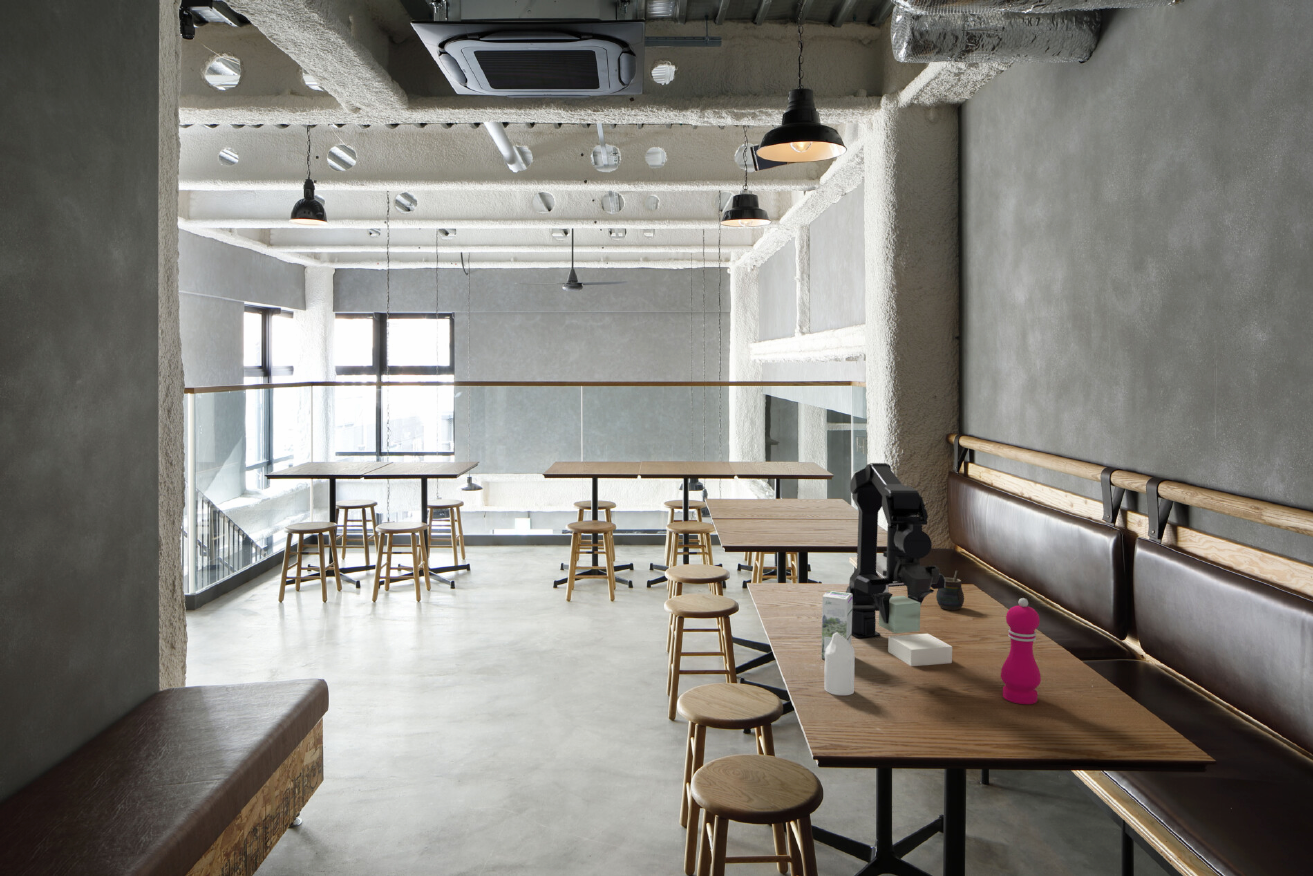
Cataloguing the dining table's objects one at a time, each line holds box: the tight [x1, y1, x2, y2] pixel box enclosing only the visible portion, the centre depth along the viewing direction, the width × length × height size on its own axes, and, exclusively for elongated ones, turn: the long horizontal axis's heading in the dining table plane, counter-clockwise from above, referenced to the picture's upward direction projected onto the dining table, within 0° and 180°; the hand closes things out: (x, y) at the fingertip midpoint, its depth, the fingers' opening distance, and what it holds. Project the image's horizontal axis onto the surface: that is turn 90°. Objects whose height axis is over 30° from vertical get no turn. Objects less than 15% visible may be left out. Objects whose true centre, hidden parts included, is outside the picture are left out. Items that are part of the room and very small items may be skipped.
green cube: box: [878, 595, 922, 634], centre depth 176 cm, size 6×6×6 cm
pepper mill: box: [1000, 597, 1042, 705], centre depth 163 cm, size 7×7×20 cm
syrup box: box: [820, 590, 852, 660], centre depth 187 cm, size 6×6×14 cm
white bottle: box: [823, 633, 856, 696], centre depth 167 cm, size 6×12×6 cm
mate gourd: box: [935, 570, 965, 611], centre depth 229 cm, size 7×8×10 cm
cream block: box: [887, 633, 953, 667], centre depth 188 cm, size 10×10×4 cm
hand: (899, 621), depth 176 cm, fingers closed on green cube, 6 cm apart
